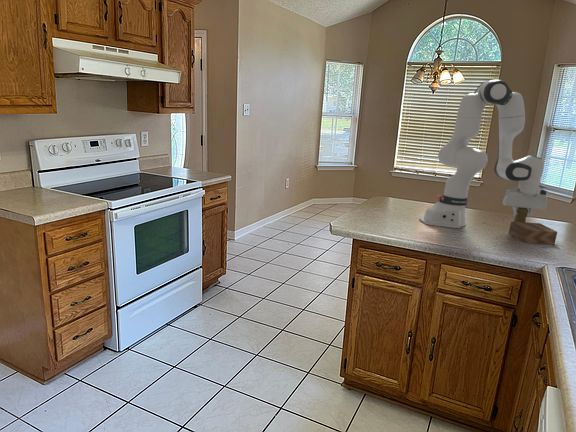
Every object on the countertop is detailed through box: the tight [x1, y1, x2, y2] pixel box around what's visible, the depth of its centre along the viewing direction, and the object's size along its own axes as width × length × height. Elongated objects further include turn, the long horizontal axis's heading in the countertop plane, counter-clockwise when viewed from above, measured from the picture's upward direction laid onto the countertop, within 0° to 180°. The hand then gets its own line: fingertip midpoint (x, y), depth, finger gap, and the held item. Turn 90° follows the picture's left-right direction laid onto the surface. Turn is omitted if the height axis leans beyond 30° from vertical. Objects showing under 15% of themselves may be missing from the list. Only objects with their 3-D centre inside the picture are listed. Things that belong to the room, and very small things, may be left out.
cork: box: [513, 207, 529, 222], centre depth 210 cm, size 6×6×11 cm
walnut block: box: [508, 220, 558, 245], centre depth 197 cm, size 14×14×6 cm
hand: (521, 216), depth 210 cm, fingers closed on cork, 4 cm apart
